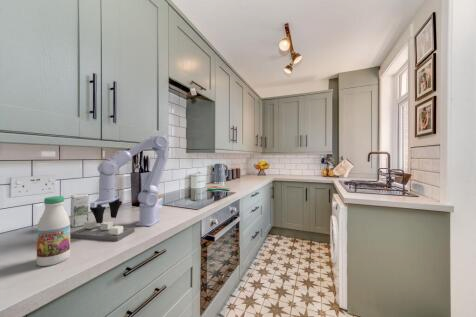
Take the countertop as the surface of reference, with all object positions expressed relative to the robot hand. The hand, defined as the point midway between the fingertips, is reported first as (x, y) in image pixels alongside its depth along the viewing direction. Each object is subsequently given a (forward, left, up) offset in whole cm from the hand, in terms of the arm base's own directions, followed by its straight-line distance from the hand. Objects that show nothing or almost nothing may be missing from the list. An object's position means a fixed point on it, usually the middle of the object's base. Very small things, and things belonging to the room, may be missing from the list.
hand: (106, 220), depth 86 cm
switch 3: (+4, +8, -4) cm, 10 cm away
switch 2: (0, 0, -4) cm, 4 cm away
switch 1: (0, -8, -4) cm, 9 cm away
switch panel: (+2, 0, -5) cm, 6 cm away
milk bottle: (+23, +2, -6) cm, 24 cm away
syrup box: (-6, -20, -6) cm, 22 cm away
